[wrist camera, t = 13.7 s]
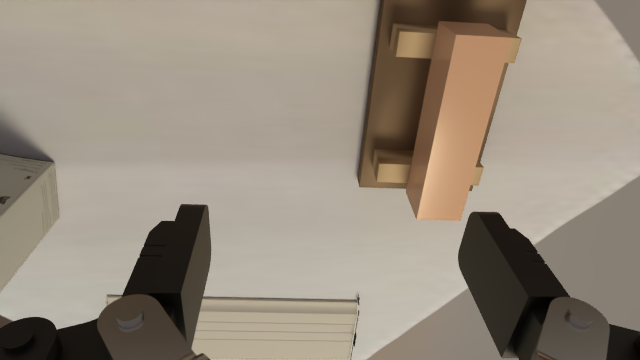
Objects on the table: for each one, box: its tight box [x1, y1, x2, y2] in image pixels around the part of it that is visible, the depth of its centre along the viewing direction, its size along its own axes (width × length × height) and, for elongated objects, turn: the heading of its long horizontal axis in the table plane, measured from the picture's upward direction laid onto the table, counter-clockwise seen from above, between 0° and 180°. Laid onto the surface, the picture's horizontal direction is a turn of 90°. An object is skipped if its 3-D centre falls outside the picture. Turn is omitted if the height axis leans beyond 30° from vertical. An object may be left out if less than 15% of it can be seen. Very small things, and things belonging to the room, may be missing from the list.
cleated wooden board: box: [358, 0, 527, 191], centre depth 41 cm, size 12×19×4 cm, turn 176°
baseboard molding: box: [107, 295, 359, 360], centre depth 58 cm, size 31×3×12 cm
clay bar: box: [406, 21, 511, 221], centre depth 37 cm, size 16×4×4 cm, turn 176°
